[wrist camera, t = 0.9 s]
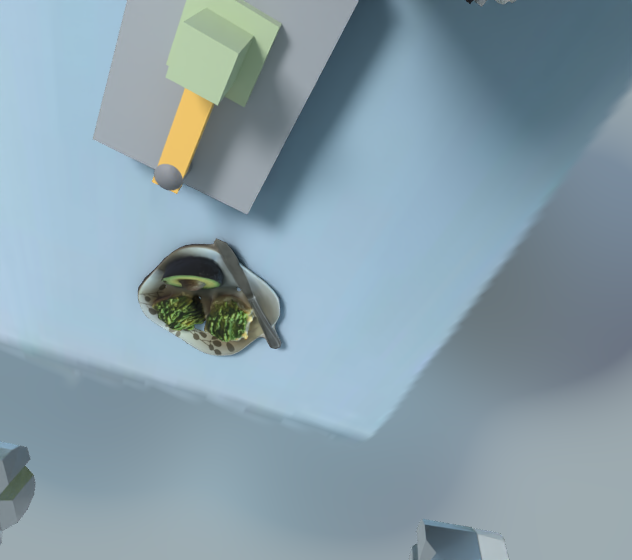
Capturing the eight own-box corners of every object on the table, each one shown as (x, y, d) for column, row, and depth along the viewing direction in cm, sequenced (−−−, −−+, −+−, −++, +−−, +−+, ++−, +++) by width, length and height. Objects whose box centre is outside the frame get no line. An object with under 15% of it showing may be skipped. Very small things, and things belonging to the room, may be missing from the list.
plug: (209, -31, 39) (168, -15, 30) (286, 16, 40) (267, 44, 32) (182, 51, 43) (139, 85, 34) (253, 90, 44) (229, 133, 36)
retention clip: (200, 60, 40) (189, 70, 37) (228, 77, 41) (220, 87, 38) (161, 167, 46) (150, 182, 44) (187, 179, 47) (177, 195, 44)
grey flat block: (190, -159, 35) (168, -168, 32) (372, -36, 39) (374, -30, 35) (114, 120, 49) (92, 138, 45) (255, 192, 53) (247, 214, 49)
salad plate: (322, 309, 63) (319, 333, 60) (237, 368, 72) (230, 393, 68) (205, 215, 56) (194, 236, 52) (126, 294, 64) (112, 317, 60)
